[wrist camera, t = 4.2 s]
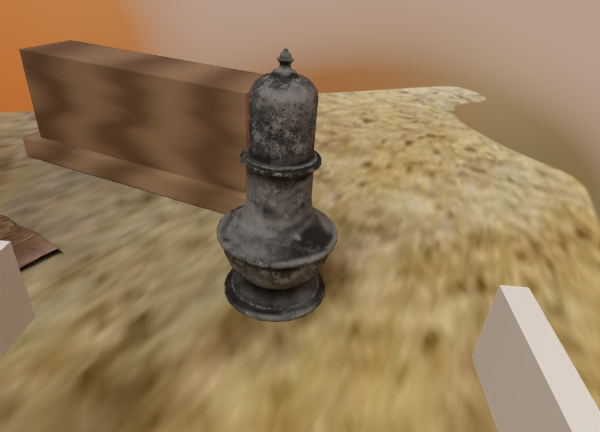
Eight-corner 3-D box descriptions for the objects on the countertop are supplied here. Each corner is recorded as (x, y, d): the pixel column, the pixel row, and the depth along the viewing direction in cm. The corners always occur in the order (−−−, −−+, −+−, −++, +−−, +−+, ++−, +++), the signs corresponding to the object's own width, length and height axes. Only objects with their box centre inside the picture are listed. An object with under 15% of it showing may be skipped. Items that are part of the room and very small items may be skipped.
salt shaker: (224, 252, 26) (218, 31, 20) (324, 254, 27) (349, 39, 20) (212, 325, 21) (199, 60, 15) (336, 327, 22) (374, 70, 15)
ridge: (27, 155, 35) (-1, 48, 31) (87, 132, 40) (69, 37, 36) (253, 222, 29) (255, 99, 25) (291, 185, 34) (298, 77, 30)
